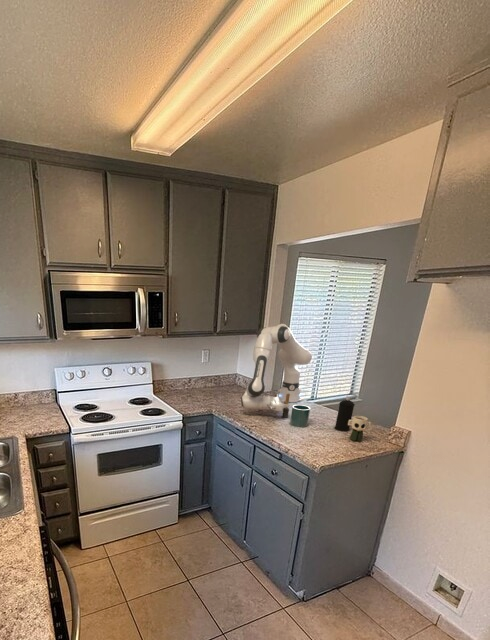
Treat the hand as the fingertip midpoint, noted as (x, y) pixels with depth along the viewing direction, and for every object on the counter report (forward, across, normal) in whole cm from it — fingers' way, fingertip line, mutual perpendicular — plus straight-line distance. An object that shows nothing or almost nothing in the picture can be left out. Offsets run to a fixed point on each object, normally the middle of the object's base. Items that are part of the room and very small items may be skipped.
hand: (288, 404), depth 231 cm
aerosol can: (+29, -18, +9) cm, 35 cm away
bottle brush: (-1, 0, +9) cm, 9 cm away
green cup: (+5, -13, +9) cm, 17 cm away
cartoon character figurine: (+31, -35, +9) cm, 48 cm away
